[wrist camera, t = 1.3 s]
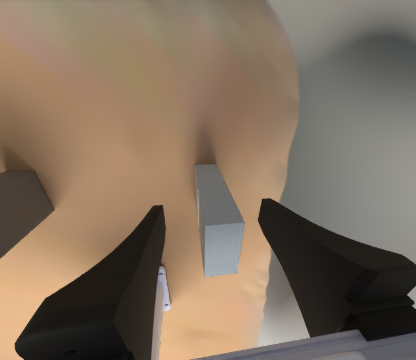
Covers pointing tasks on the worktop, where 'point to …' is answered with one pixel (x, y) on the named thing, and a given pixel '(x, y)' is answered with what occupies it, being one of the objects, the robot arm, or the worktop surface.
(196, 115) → the worktop surface
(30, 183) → the domino
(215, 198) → the domino
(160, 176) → the worktop surface
